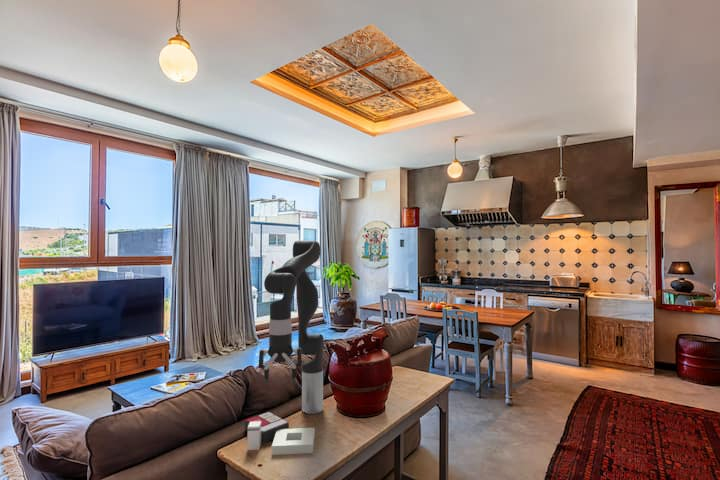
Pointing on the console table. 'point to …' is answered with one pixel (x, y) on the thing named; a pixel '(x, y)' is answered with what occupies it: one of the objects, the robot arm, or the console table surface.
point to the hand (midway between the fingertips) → (280, 379)
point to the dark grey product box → (268, 425)
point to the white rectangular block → (254, 435)
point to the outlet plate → (293, 441)
